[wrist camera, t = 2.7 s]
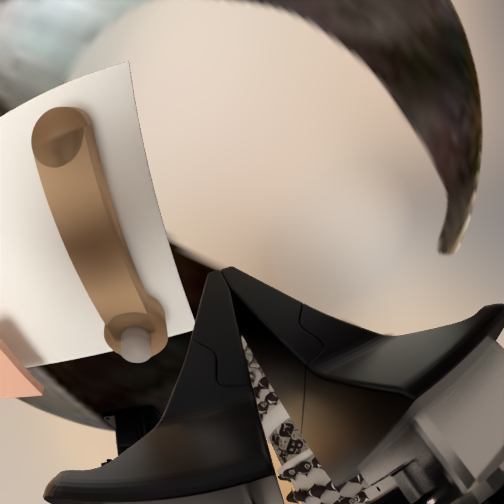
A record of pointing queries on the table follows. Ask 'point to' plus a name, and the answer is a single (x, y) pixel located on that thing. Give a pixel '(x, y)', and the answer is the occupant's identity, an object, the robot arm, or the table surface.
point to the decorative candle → (297, 450)
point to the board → (49, 240)
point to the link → (95, 233)
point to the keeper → (16, 376)
